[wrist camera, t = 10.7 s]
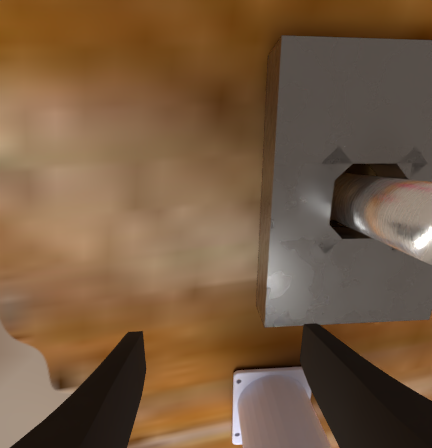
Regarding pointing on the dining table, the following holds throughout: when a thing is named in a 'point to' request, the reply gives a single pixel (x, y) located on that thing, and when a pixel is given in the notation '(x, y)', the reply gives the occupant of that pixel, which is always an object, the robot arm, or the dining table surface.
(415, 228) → the steel peg
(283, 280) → the dock plate
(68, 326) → the dining table surface
